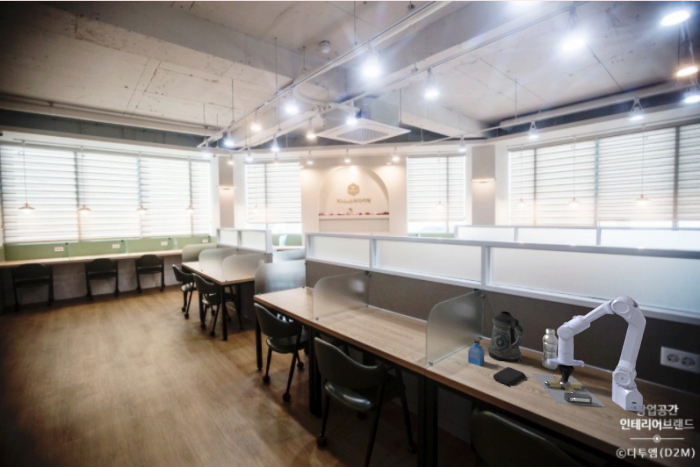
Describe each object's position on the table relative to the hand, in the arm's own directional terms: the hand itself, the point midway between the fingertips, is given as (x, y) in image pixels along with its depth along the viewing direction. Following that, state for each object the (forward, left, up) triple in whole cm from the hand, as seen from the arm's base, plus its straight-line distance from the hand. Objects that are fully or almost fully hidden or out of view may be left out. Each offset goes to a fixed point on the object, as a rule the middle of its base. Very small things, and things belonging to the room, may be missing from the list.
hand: (565, 380), depth 138 cm
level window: (-15, +3, -1) cm, 15 cm away
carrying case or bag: (+1, +23, -2) cm, 23 cm away
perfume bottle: (+17, +35, -2) cm, 39 cm away
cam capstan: (-5, +3, -1) cm, 6 cm away
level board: (-5, +3, -2) cm, 6 cm away
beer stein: (+25, +17, -2) cm, 30 cm away
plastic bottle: (+15, 0, -2) cm, 15 cm away
